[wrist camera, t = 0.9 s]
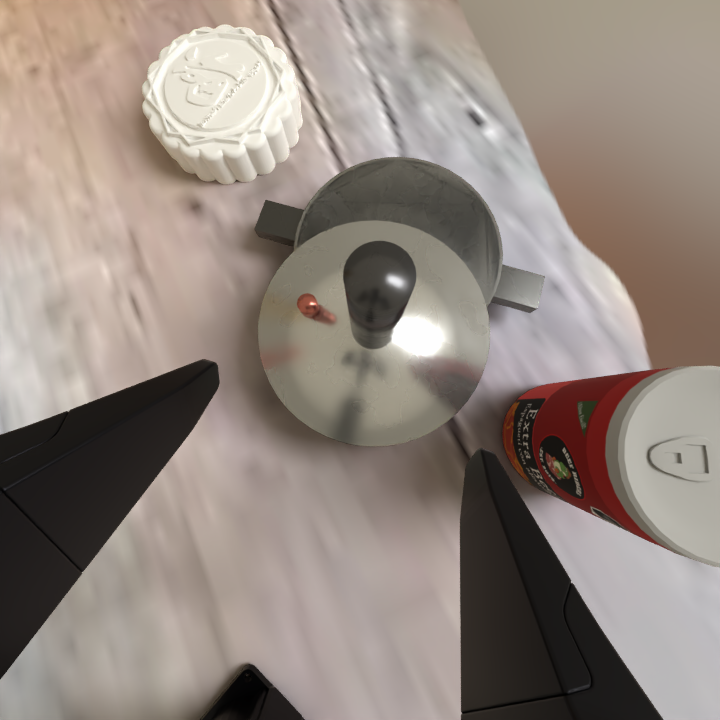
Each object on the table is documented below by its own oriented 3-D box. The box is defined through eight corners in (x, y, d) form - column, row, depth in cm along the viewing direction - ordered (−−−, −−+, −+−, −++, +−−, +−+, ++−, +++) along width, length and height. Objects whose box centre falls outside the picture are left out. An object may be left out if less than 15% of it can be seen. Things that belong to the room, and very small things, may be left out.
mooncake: (227, 41, 29) (208, -11, 25) (331, 111, 27) (327, 67, 24) (135, 135, 27) (101, 94, 24) (240, 213, 26) (221, 183, 23)
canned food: (485, 397, 23) (590, 388, 13) (589, 373, 24) (781, 343, 13) (516, 504, 22) (661, 597, 11) (625, 478, 22) (870, 544, 12)
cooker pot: (500, 395, 23) (520, 393, 20) (240, 318, 25) (223, 305, 22) (541, 221, 25) (565, 196, 22) (299, 157, 27) (291, 125, 24)
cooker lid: (454, 476, 19) (526, 530, 11) (229, 405, 20) (129, 403, 12) (508, 258, 21) (605, 158, 13) (302, 202, 22) (263, 72, 14)
